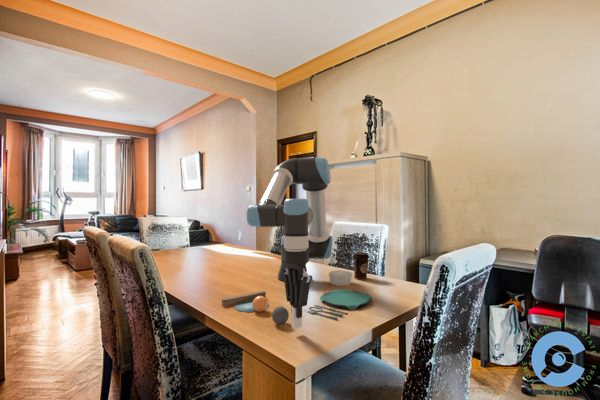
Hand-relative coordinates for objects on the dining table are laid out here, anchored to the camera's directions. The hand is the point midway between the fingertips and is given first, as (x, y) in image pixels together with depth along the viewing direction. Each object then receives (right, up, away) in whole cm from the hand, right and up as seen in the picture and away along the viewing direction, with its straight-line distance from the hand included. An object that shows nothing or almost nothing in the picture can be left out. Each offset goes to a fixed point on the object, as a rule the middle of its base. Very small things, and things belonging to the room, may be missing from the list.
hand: (296, 327), depth 93 cm
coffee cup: (+33, -2, +66) cm, 74 cm away
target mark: (-17, -2, +25) cm, 30 cm away
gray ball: (-5, +1, +8) cm, 10 cm away
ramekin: (+21, -2, +56) cm, 60 cm away
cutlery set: (+16, -3, +27) cm, 31 cm away
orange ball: (-14, +1, +19) cm, 24 cm away
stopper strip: (-21, -2, +30) cm, 37 cm away
